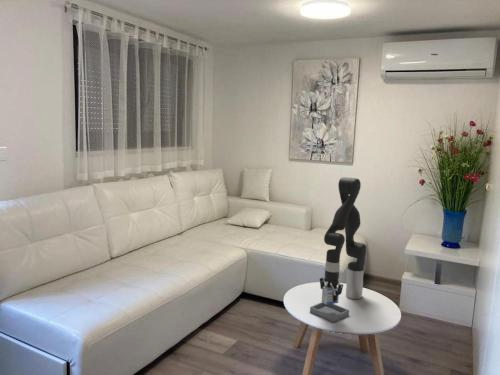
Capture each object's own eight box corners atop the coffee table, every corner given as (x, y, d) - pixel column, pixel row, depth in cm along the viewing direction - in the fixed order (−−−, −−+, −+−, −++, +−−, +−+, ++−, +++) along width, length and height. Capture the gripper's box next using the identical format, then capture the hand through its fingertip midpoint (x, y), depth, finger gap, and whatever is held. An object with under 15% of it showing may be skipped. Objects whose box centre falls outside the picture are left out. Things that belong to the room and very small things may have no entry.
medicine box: (326, 305, 212) (327, 289, 211) (321, 301, 216) (322, 286, 215) (338, 303, 215) (339, 287, 214) (333, 299, 219) (334, 284, 218)
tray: (325, 305, 227) (325, 300, 226) (348, 315, 216) (349, 310, 215) (309, 312, 218) (310, 306, 217) (333, 322, 206) (334, 317, 206)
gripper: (347, 271, 211) (345, 302, 213) (325, 264, 221) (323, 293, 223) (339, 274, 205) (337, 305, 208) (317, 266, 216) (315, 296, 218)
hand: (330, 299), depth 216 cm, fingers closed on medicine box, 5 cm apart
